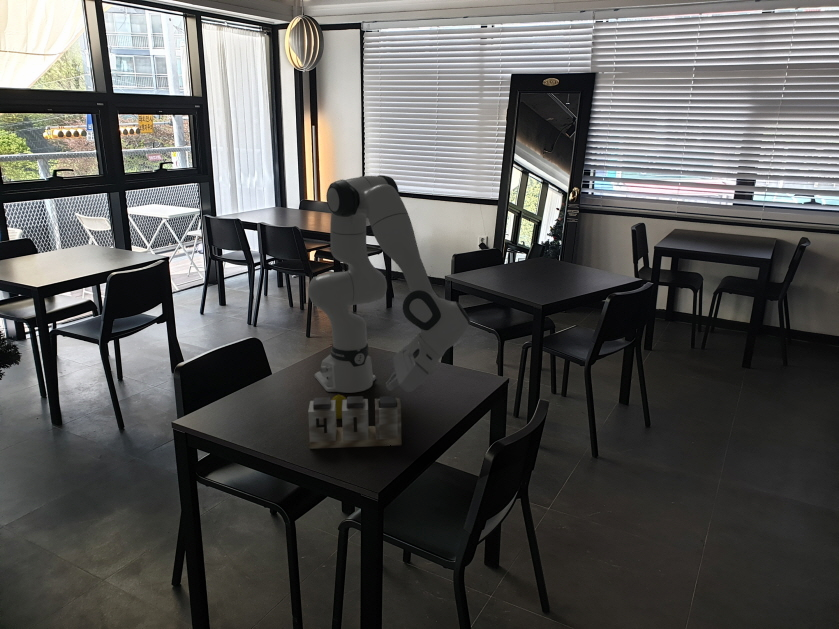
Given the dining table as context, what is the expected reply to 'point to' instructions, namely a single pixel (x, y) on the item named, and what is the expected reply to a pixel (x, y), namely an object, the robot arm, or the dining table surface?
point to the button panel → (353, 424)
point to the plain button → (387, 401)
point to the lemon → (339, 405)
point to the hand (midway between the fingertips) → (387, 387)
